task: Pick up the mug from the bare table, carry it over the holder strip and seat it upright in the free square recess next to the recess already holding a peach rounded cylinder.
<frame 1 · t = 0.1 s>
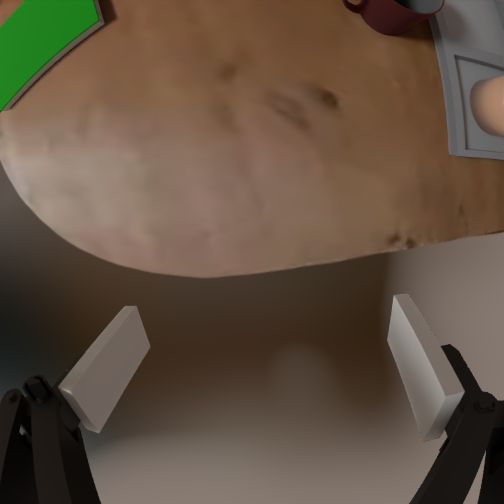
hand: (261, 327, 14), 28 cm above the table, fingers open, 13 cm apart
mug: (373, 14, 28), on the table
holder: (480, 60, 27), on the table
peach rounded cylinder: (490, 107, 29), point 1 cm above the table, touching holder
book: (42, 30, 32), on the table
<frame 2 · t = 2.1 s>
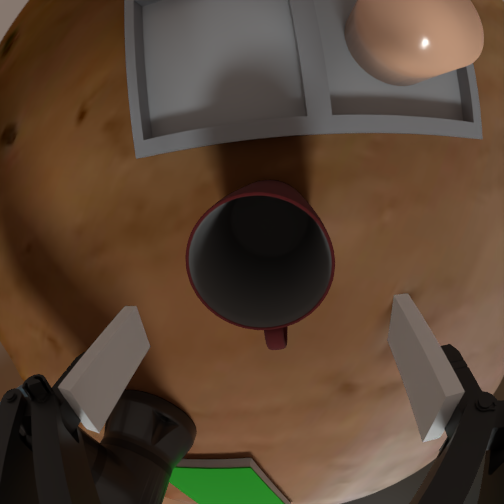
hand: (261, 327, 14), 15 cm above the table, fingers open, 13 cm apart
mug: (272, 234, 28), on the table
holder: (305, 41, 21), on the table
peach rounded cylinder: (391, 42, 19), point 1 cm above the table, touching holder
book: (227, 484, 50), on the table
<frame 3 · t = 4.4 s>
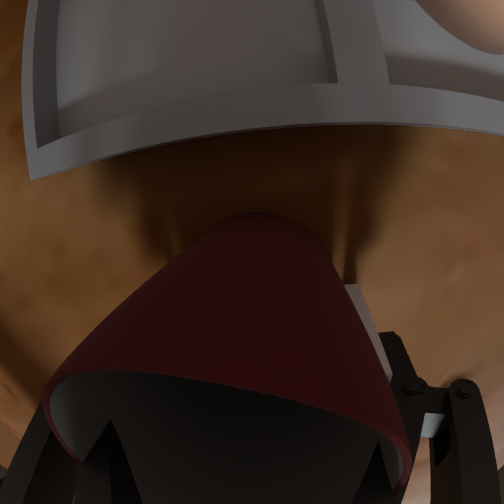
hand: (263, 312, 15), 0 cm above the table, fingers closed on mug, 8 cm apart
mug: (265, 306, 16), on the table, touching gripper
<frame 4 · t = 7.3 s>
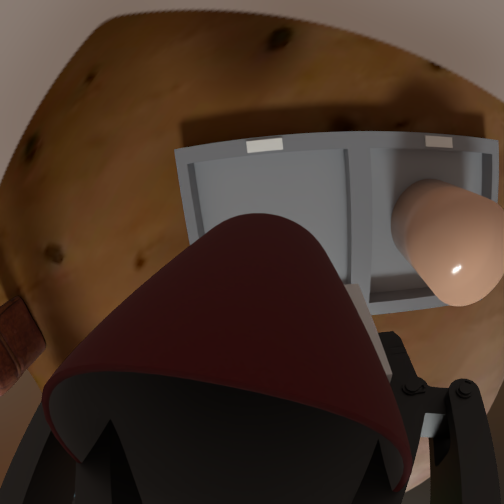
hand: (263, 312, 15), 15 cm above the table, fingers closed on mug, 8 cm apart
mug: (265, 306, 16), point 14 cm above the table, touching gripper
brown leather pouch: (29, 322, 41), on the table
holder: (356, 224, 28), on the table
peach rounded cylinder: (429, 222, 26), point 1 cm above the table, touching holder
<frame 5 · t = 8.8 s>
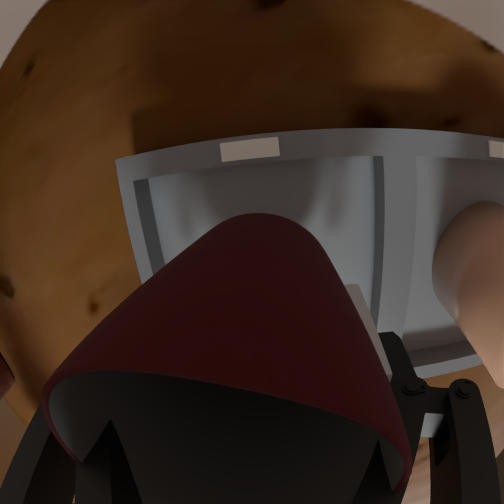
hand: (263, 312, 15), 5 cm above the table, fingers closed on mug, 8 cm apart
mug: (265, 306, 16), point 4 cm above the table, touching gripper
holder: (384, 265, 19), on the table
peach rounded cylinder: (479, 260, 17), point 1 cm above the table, touching holder
when the fingers open (3 cm above the table, at t = 10.2 s): mug drops 2 cm, resting on holder.
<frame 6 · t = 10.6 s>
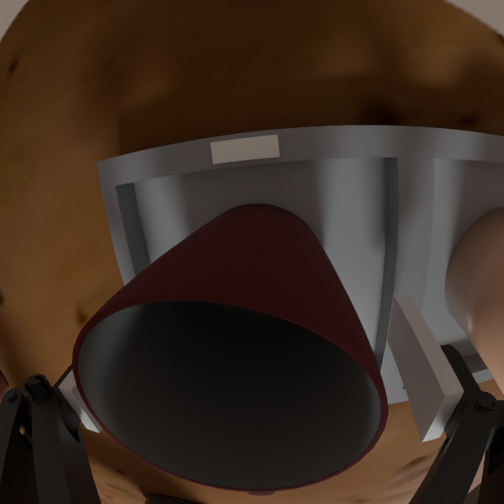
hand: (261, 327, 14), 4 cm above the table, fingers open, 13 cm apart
mug: (263, 289, 18), resting on holder
holder: (394, 278, 17), on the table
peach rounded cylinder: (494, 271, 15), point 1 cm above the table, touching holder
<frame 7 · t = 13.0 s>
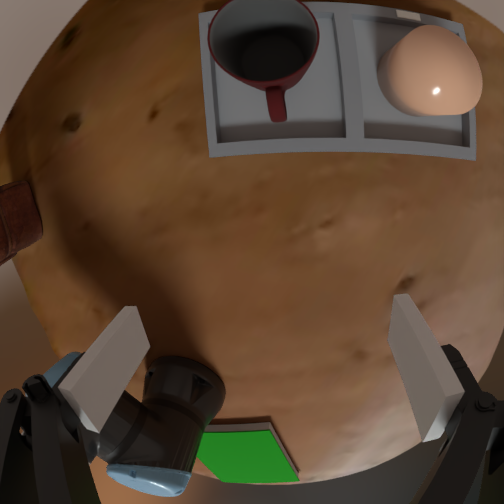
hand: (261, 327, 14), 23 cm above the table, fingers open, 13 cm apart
mug: (275, 75, 29), resting on holder
brown leather pouch: (30, 211, 42), on the table
holder: (346, 75, 28), on the table
peach rounded cylinder: (412, 80, 26), point 1 cm above the table, touching holder
book: (242, 451, 60), on the table
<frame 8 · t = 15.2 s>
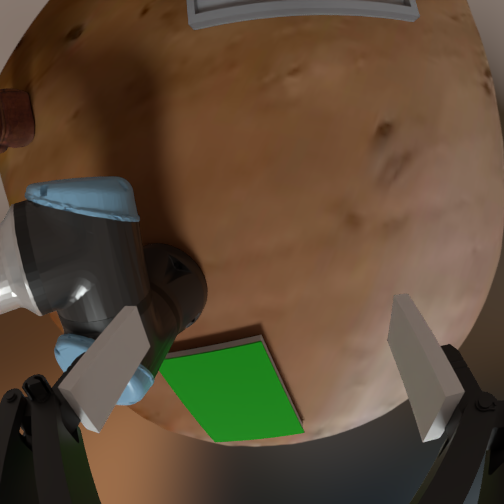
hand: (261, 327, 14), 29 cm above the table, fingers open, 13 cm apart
brown leather pouch: (26, 119, 40), on the table
book: (234, 392, 57), on the table
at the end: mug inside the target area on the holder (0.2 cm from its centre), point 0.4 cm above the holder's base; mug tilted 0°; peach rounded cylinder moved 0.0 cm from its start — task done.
